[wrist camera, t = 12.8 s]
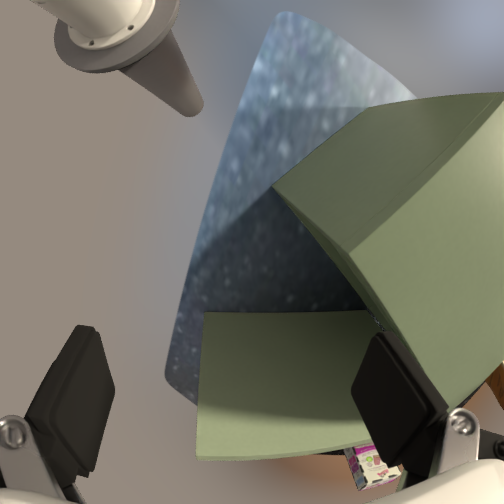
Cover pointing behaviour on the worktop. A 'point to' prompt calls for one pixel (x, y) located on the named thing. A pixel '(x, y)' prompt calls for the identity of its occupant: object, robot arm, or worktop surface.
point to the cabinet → (418, 227)
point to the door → (280, 384)
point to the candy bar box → (369, 467)
